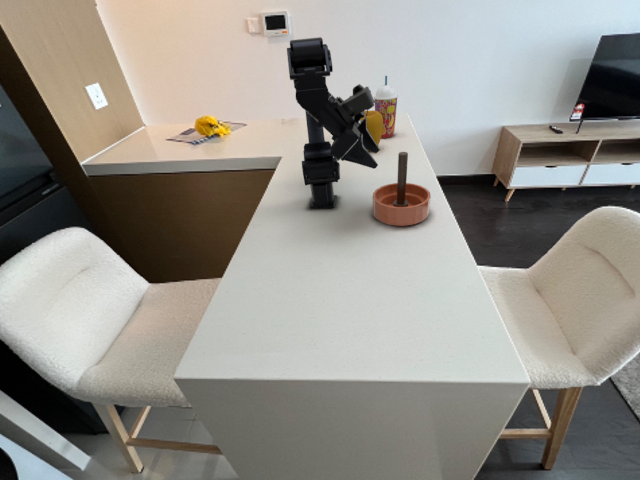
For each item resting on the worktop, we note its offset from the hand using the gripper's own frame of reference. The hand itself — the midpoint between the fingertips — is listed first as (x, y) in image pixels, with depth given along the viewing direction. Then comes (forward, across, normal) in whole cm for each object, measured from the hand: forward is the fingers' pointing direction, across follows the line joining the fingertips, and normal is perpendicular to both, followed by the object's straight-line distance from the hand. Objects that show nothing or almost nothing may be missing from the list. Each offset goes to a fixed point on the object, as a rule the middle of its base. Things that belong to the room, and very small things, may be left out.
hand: (377, 158), depth 74 cm
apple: (+6, +46, +14) cm, 48 cm away
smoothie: (+10, +61, +9) cm, 62 cm away
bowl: (+14, 0, +6) cm, 15 cm away
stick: (+13, 0, +5) cm, 14 cm away
